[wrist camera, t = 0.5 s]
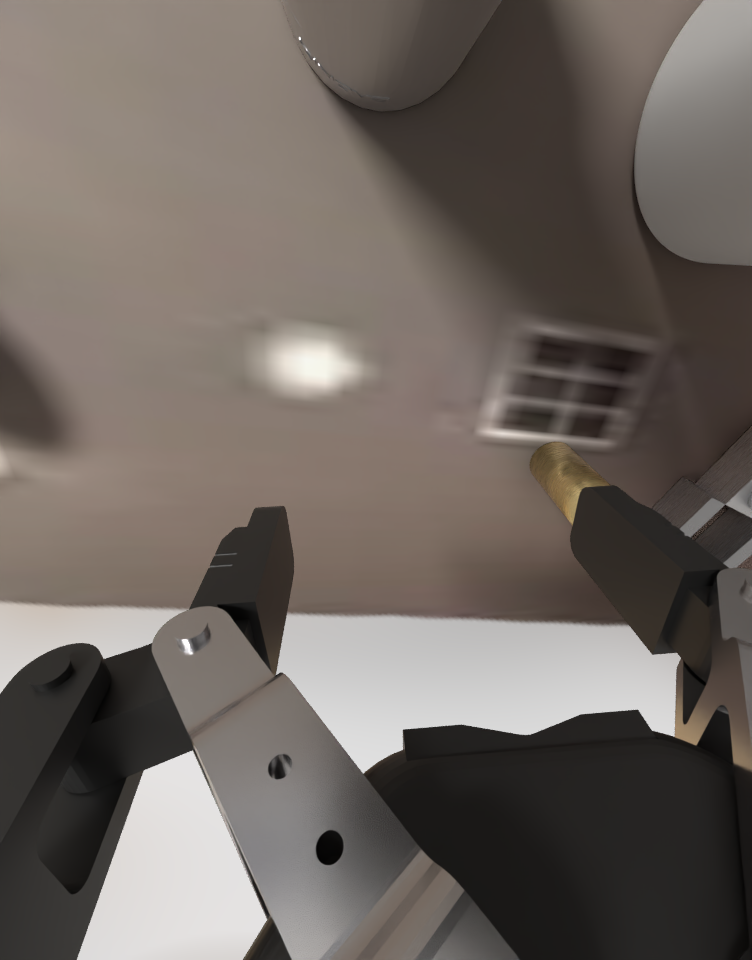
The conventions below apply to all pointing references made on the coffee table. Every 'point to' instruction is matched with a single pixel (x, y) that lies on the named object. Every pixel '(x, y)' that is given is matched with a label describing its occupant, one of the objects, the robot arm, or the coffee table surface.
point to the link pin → (563, 475)
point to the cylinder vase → (701, 139)
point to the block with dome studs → (717, 504)
